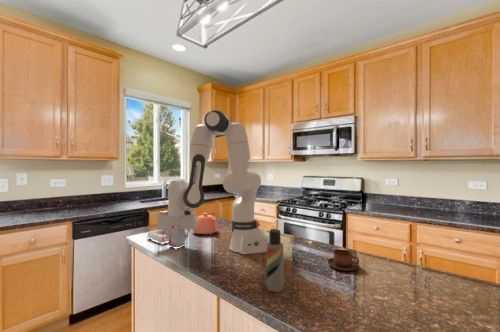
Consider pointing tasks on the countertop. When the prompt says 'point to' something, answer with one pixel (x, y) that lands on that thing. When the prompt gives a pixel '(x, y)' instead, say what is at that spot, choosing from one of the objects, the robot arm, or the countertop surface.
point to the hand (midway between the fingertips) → (177, 237)
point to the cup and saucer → (343, 260)
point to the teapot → (206, 224)
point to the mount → (159, 235)
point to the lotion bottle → (275, 262)
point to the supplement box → (176, 236)
